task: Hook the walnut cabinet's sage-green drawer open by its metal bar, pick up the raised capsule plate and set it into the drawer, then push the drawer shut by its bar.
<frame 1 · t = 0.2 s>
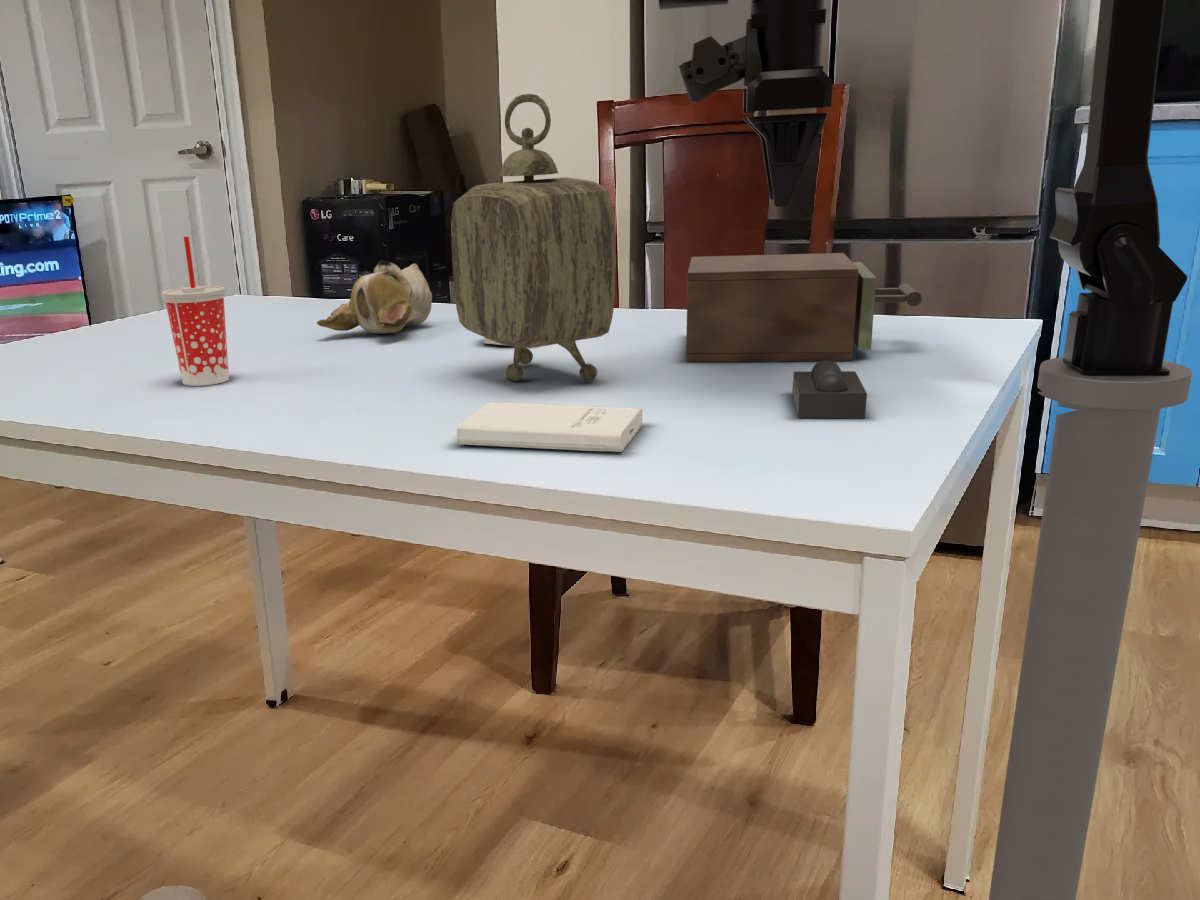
hand: (778, 202, 93), 15 cm above the table, tool pointing down, fingers open, 9 cm apart
raised capsule plate: (826, 406, 88), on the table
hard drive: (551, 438, 84), on the table
drawer: (814, 305, 110), point 4 cm above the table, slide at 0.5 cm
beverage cup: (206, 382, 110), on the table
cabinet: (765, 348, 112), on the table
tabletop clock: (531, 379, 104), on the table
ceramic sculpture: (386, 334, 132), on the table
cream flat wedge: (515, 343, 122), on the table
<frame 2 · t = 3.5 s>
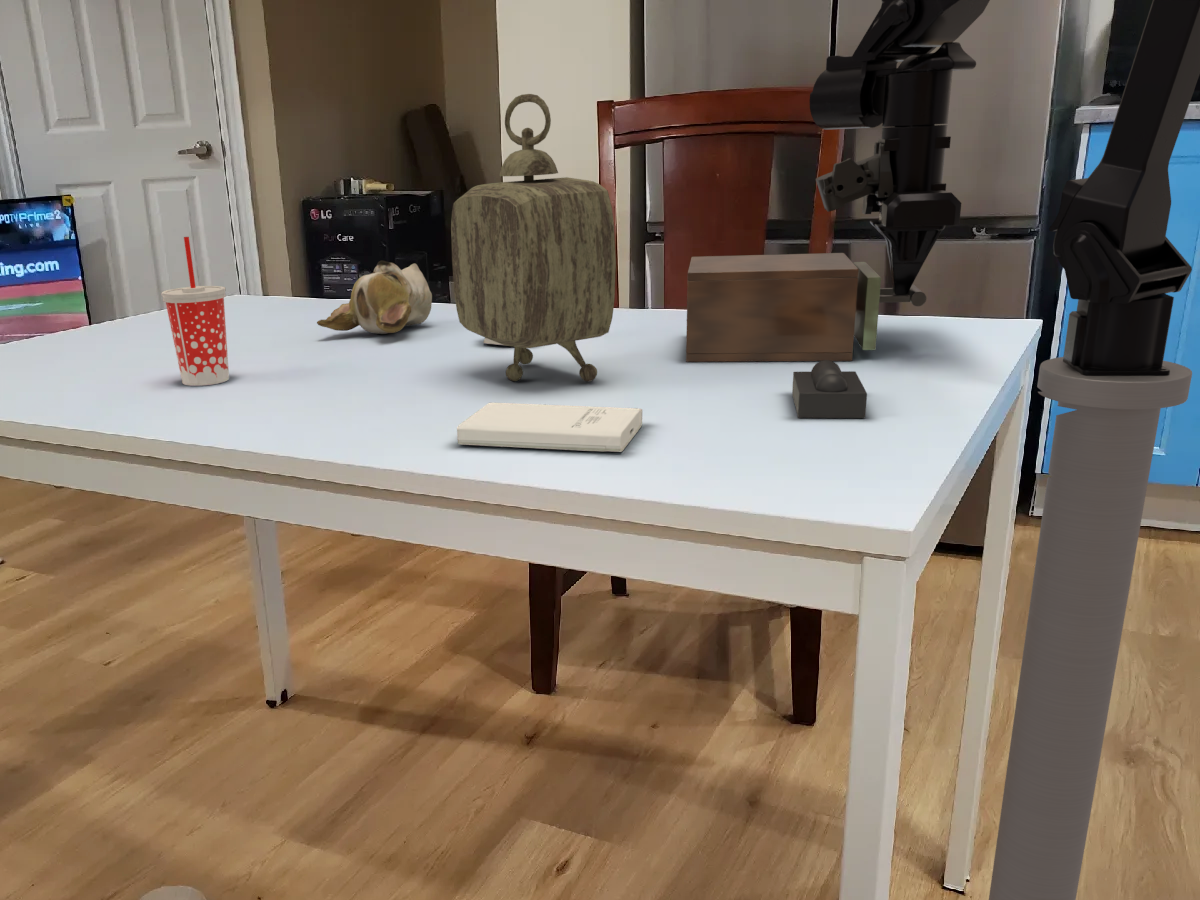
hand: (900, 295, 108), 5 cm above the table, tool pointing down, fingers closed, pressing on drawer
drawer: (818, 305, 110), point 4 cm above the table, slide at 0.9 cm, touching gripper
everything else where it was.
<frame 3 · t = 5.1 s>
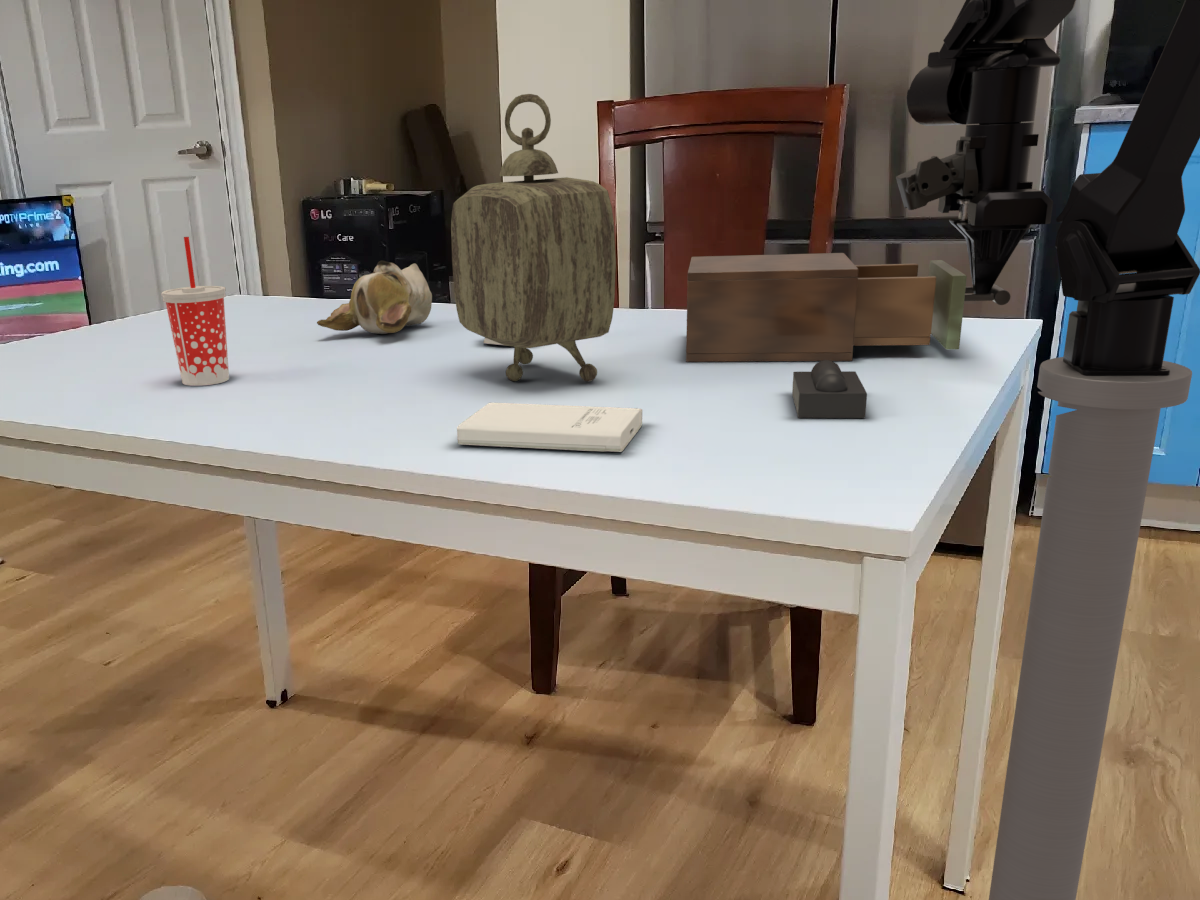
hand: (980, 295, 106), 5 cm above the table, tool pointing down, fingers closed, pressing on drawer
drawer: (897, 303, 108), point 4 cm above the table, slide at 8.4 cm, touching gripper
everything else where it was.
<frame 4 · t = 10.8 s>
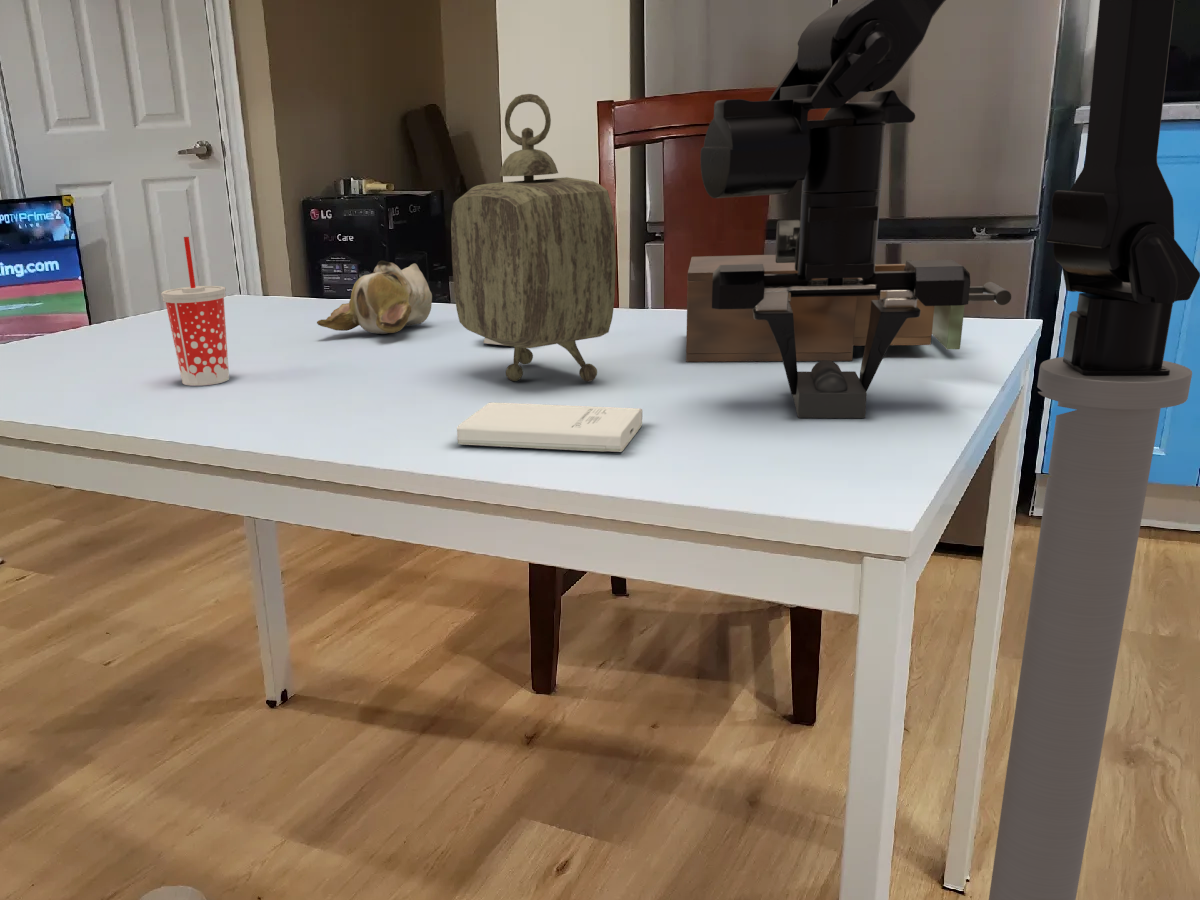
hand: (828, 393, 88), 1 cm above the table, tool pointing down, fingers closed on raised capsule plate, 5 cm apart
raised capsule plate: (826, 406, 88), on the table, touching gripper
drawer: (898, 303, 108), point 4 cm above the table, slide at 8.5 cm
everything else where it was.
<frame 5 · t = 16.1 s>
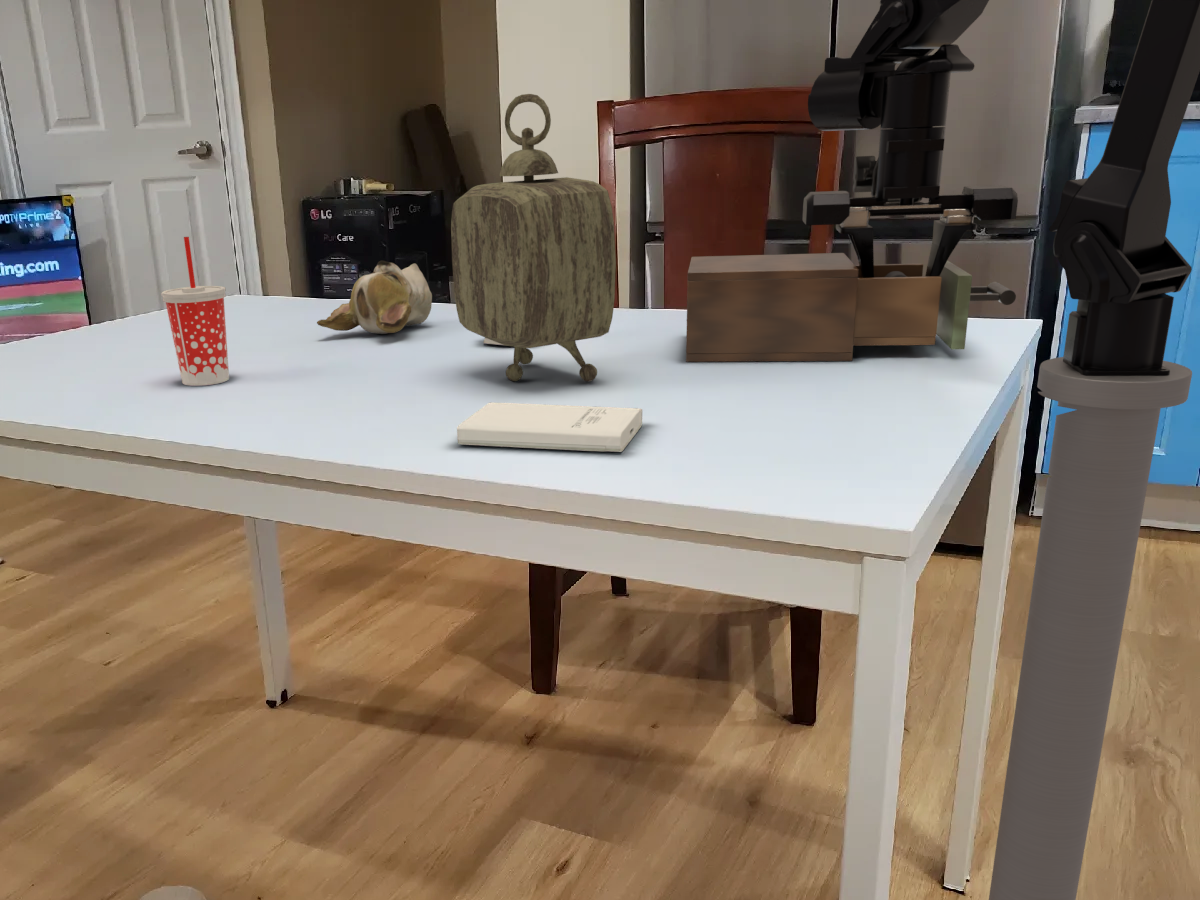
hand: (898, 297, 108), 5 cm above the table, tool pointing down, fingers closed on raised capsule plate, 5 cm apart
raised capsule plate: (896, 307, 108), point 4 cm above the table, touching gripper
drawer: (902, 303, 108), point 4 cm above the table, slide at 8.9 cm, touching gripper
everything else where it was.
when the fingers open (5 cm above the table, at t = 20.7 s): raised capsule plate drops 2 cm, resting on drawer.
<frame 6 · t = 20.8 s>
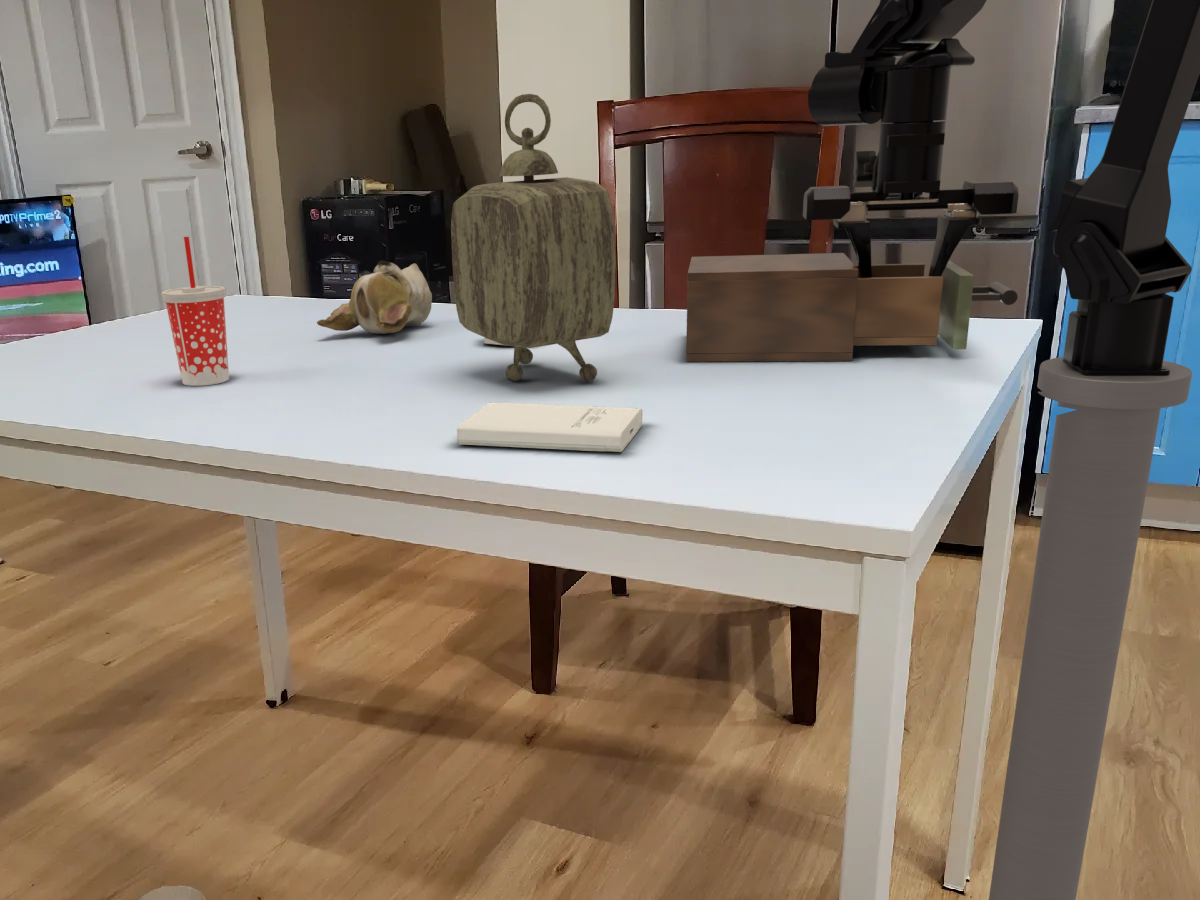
hand: (898, 292, 108), 5 cm above the table, tool pointing down, fingers open, 6 cm apart
raised capsule plate: (895, 327, 109), point 2 cm above the table, touching drawer
drawer: (904, 303, 108), point 4 cm above the table, slide at 9.0 cm, touching raised capsule plate
everything else where it was.
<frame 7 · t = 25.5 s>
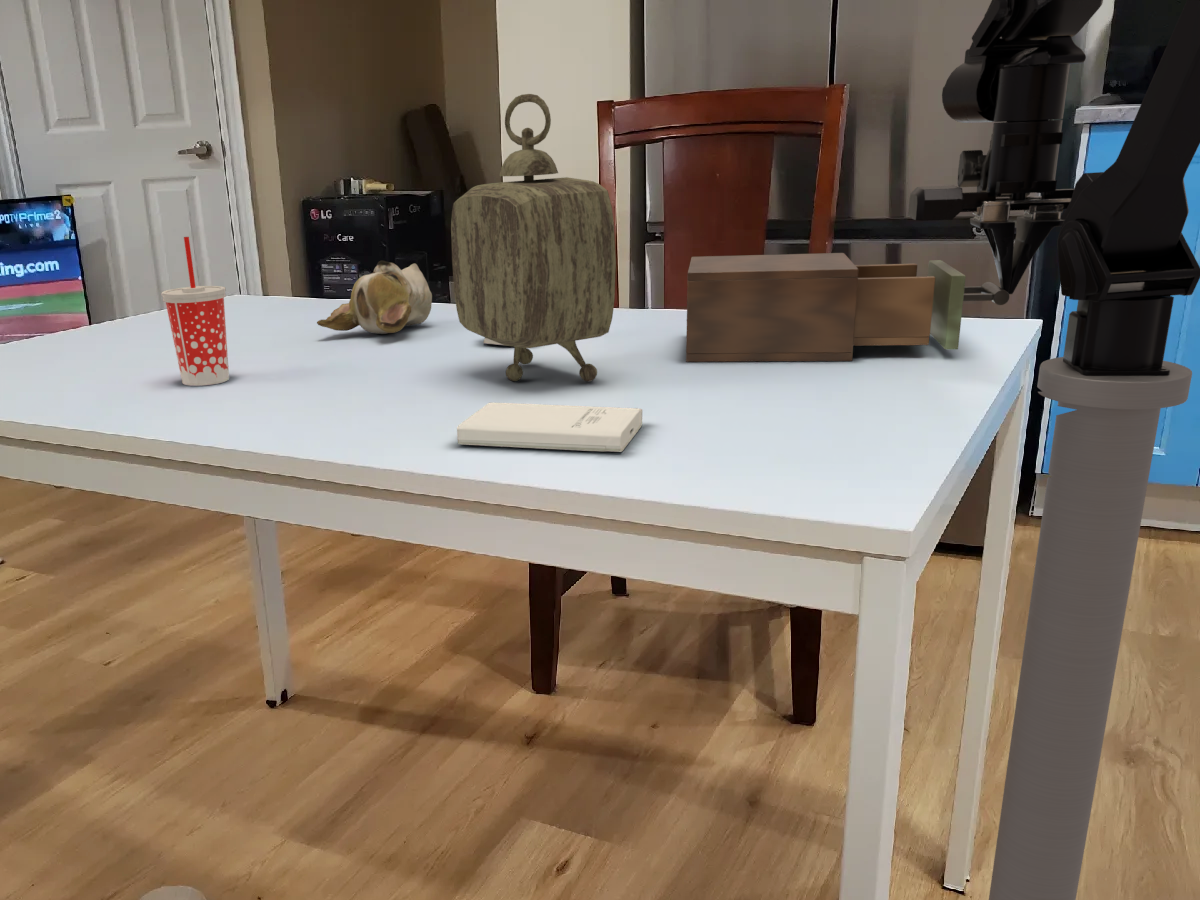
hand: (1007, 293, 106), 5 cm above the table, tool pointing down, fingers closed
drawer: (896, 303, 108), point 4 cm above the table, slide at 8.3 cm, touching gripper, raised capsule plate
everything else where it was.
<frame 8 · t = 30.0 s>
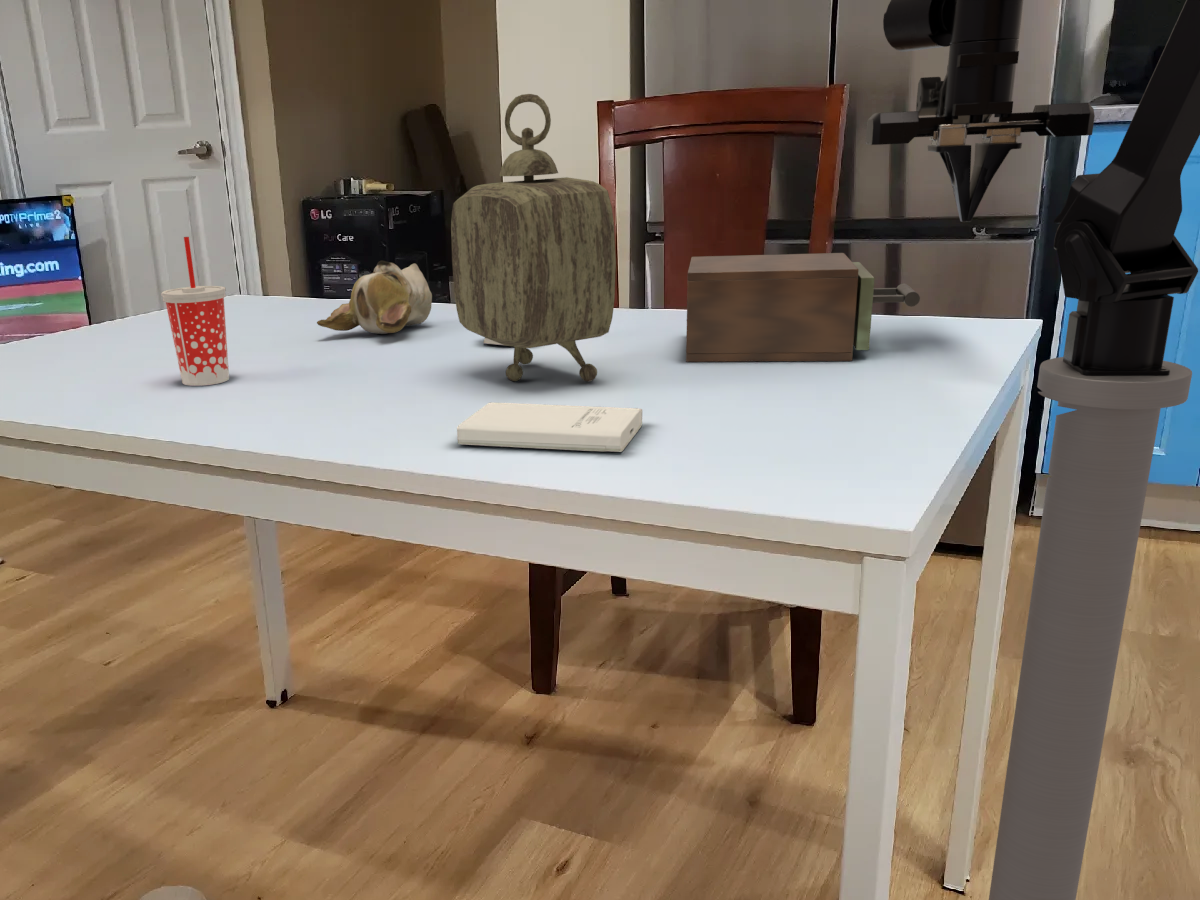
hand: (965, 221, 104), 12 cm above the table, tool pointing down, fingers closed
raised capsule plate: (805, 328, 111), point 2 cm above the table, touching drawer
drawer: (812, 305, 110), point 4 cm above the table, slide at 0.3 cm, touching raised capsule plate
everything else where it was.
at the end: drawer pulled out 9.0 cm at the most during the clip, back to 0.3 cm at the end; raised capsule plate inside the target area in the cabinet (3.8 cm from its centre), point 2.0 cm above the cabinet's base; drawer slide at 0.3 cm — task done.
